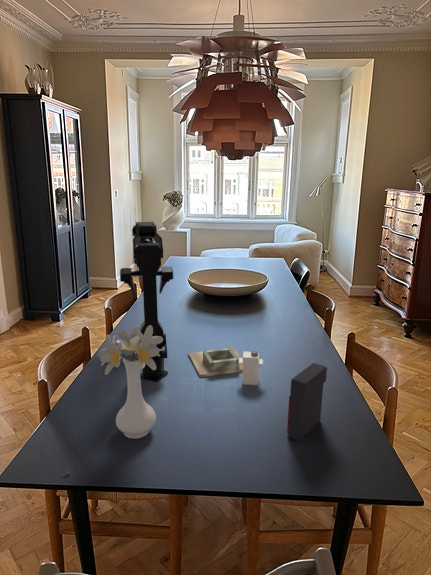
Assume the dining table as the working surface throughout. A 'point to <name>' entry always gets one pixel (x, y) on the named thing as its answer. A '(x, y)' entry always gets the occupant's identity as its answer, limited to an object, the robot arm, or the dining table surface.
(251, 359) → the block
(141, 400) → the flower vase
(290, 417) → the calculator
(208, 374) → the plate
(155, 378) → the robot arm
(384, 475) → the dining table surface
